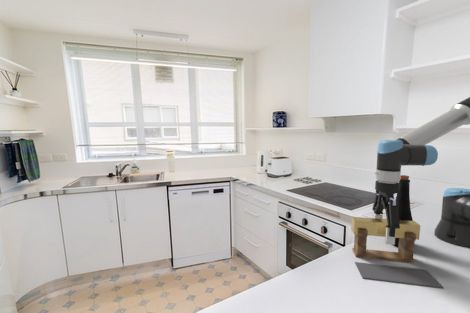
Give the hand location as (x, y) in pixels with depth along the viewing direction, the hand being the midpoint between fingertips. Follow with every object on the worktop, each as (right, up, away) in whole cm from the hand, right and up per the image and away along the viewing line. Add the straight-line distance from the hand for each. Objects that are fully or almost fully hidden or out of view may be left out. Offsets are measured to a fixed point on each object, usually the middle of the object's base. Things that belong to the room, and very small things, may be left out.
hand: (383, 236), depth 88 cm
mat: (-2, -9, -10) cm, 14 cm away
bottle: (+13, -7, +10) cm, 18 cm away
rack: (0, -8, +1) cm, 8 cm away
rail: (0, +1, 0) cm, 1 cm away
